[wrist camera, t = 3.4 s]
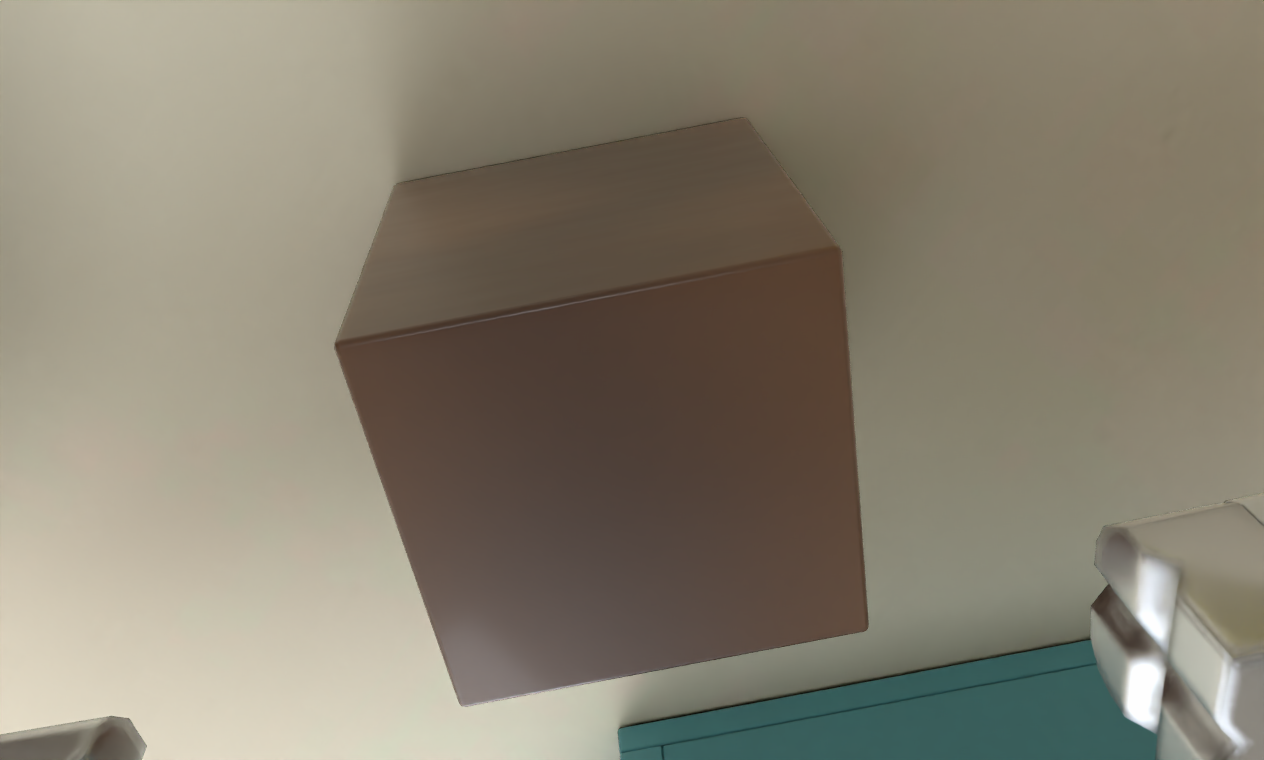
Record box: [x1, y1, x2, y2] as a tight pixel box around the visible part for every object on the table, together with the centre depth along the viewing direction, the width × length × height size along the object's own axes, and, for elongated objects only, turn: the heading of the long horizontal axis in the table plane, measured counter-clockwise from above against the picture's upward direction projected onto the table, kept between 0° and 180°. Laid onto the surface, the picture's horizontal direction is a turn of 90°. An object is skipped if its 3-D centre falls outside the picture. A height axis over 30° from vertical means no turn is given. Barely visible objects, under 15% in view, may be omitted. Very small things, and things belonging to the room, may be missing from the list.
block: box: [334, 118, 869, 707], centre depth 13 cm, size 5×5×5 cm
